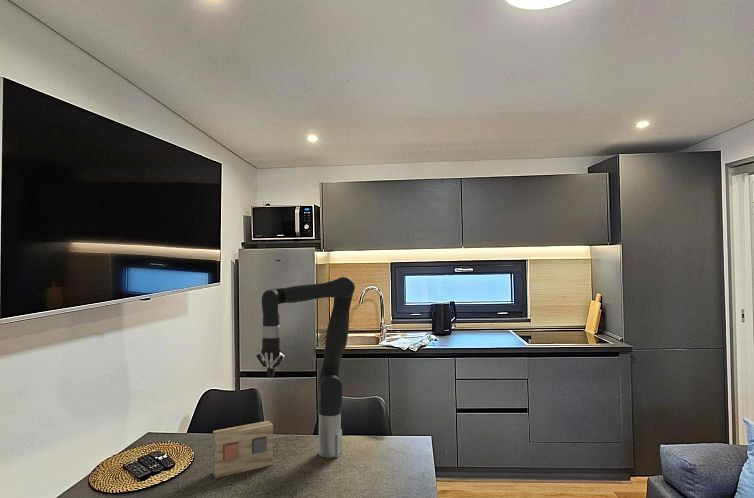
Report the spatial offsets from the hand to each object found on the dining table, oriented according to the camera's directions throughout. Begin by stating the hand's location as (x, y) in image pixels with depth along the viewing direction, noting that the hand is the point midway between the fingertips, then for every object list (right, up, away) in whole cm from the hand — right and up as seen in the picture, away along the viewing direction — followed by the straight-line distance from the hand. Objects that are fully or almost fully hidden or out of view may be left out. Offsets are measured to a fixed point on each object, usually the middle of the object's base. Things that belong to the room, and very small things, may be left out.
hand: (270, 376), depth 197 cm
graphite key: (-1, -25, -16) cm, 29 cm away
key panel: (-7, -31, -17) cm, 36 cm away
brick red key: (-10, -25, -21) cm, 34 cm away
